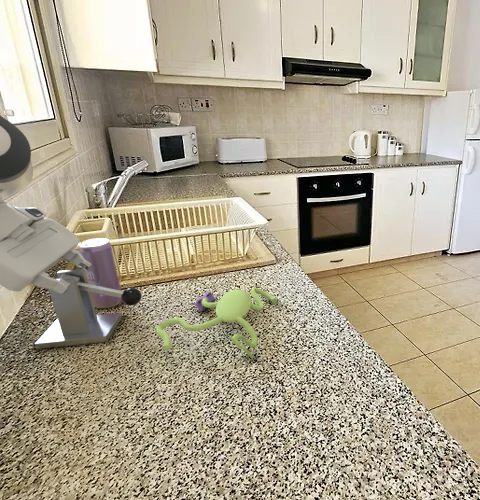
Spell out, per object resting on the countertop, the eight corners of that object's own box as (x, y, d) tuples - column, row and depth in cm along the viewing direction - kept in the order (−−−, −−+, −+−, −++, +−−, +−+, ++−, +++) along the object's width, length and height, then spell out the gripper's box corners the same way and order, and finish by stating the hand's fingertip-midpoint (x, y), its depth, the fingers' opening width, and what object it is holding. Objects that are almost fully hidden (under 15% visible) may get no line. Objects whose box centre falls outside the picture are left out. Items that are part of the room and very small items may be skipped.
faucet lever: (141, 301, 78) (145, 286, 77) (136, 310, 75) (140, 295, 74) (62, 285, 73) (65, 269, 72) (54, 294, 70) (57, 277, 69)
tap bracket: (122, 317, 81) (109, 263, 76) (107, 341, 73) (92, 282, 68) (58, 323, 78) (41, 267, 74) (36, 349, 70) (15, 288, 66)
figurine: (147, 365, 67) (141, 338, 65) (206, 294, 91) (204, 273, 89) (249, 370, 66) (246, 343, 64) (281, 297, 91) (280, 276, 89)
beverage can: (129, 299, 88) (116, 239, 83) (106, 311, 83) (91, 248, 78) (110, 294, 90) (96, 236, 85) (87, 306, 85) (70, 244, 79)
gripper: (-29, 238, 56) (62, 291, 61) (43, 205, 74) (108, 248, 80) (-54, 267, 56) (38, 318, 62) (23, 228, 75) (89, 269, 80)
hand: (78, 278), depth 71 cm, fingers open, 8 cm apart
